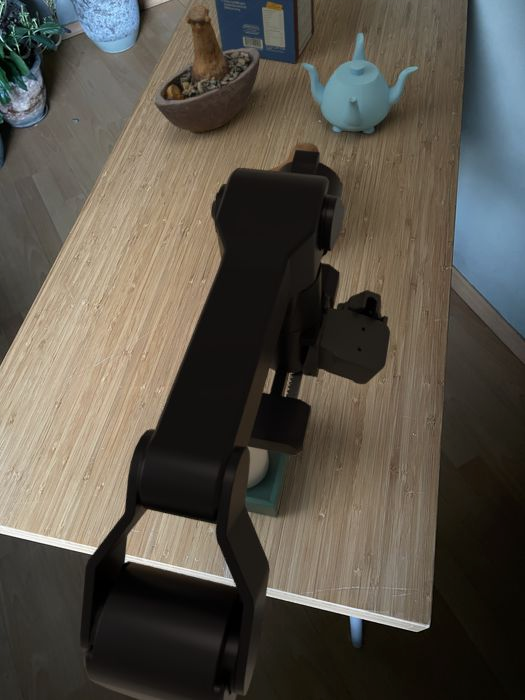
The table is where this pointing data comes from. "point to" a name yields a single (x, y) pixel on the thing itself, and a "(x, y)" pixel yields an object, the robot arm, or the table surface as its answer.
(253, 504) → the teal shallow tray
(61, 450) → the table surface
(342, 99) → the teapot
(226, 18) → the protein box
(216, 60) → the planter
